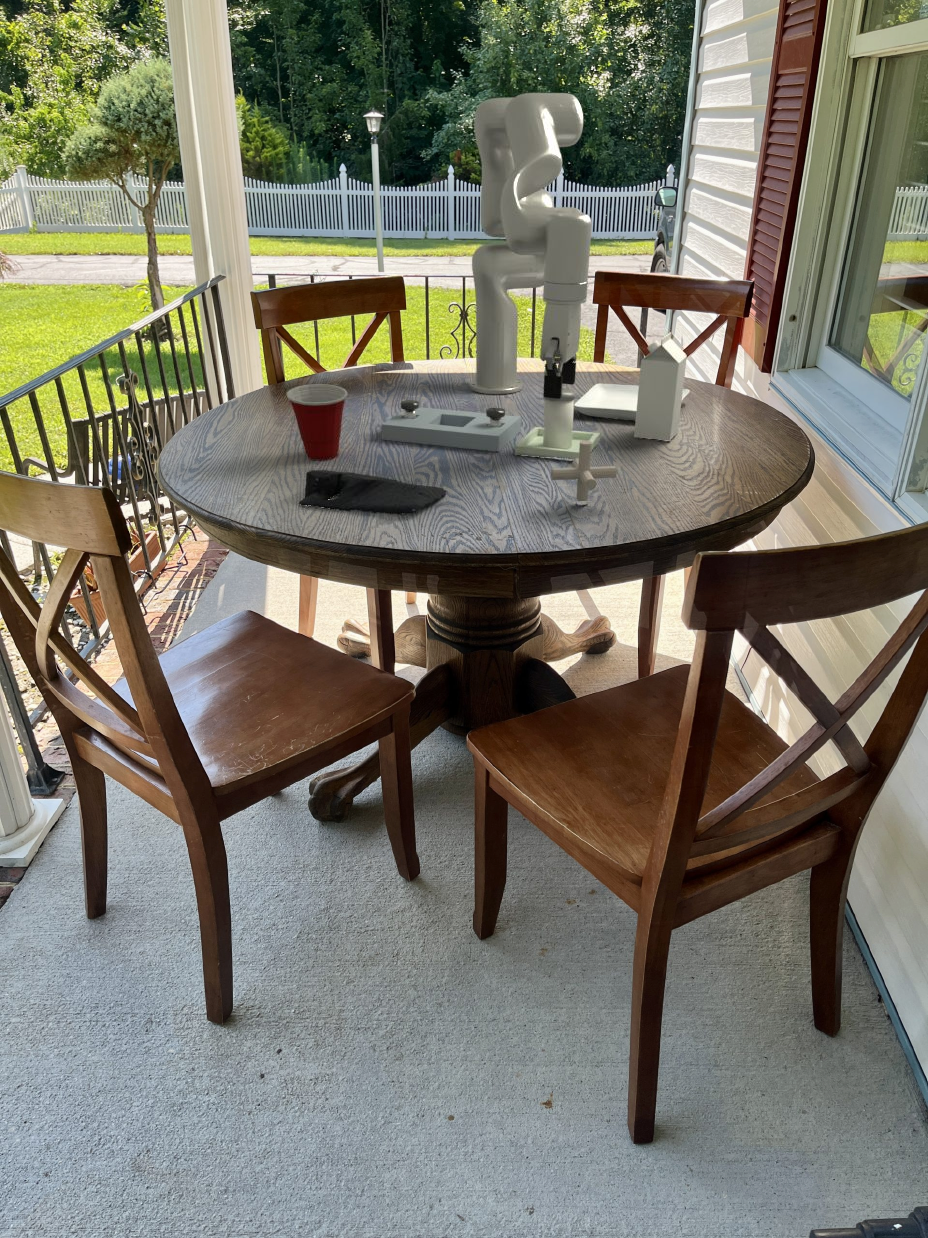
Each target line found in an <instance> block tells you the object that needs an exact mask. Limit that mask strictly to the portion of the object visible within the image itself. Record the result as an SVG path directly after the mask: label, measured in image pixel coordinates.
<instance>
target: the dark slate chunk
mask: <svg viewBox="0 0 928 1238" xmlns="http://www.w3.org/2000/svg"><path fill="white" fill-rule="evenodd" d="M446 492H447V490H446V489H444V488H443V487H439V486H433V485H423V484H416V483H408V482H402V481H399V480H397V479H392V478H388V477H382V476H381V477H380V476H375V475H370V474H363V473H356V472H350V471H348V472H347V471H345V472H344V471H336V470H327V469H316V470H315V469H313V470H312V469H311V470H309V471H307V472H306V474H305V488H304V497H303V498H302V499H303V500H302V499H301V500H299V503H298V504H299V505H300V504H301V505H307V506H308V505H311V506H310V507H315V506H318V507H317V508H321V507H324V508H323V509H326V508H330V509H329V510H332V509H333V510H337V509H339V510H338V511H345V510H346V512H349V511H350V512H352V511H356V510H357V512H358V511H359V512H364V513H369V512H370V513H373V514H375V513H379V514H387V515H402V513H403V515H411V514H415V513H417V512H419V511H420V510H422V509H424V508H426V507H427V506H429V505H431V504H433V503H437V502H438V501H439V500H441V499H443V498H444V497H446ZM337 494H339V495H337ZM335 495H336V496H337V497H335ZM333 496H334V497H335V498H334V497H333ZM330 497H331V499H330ZM328 499H330V500H328ZM301 505H300V506H301ZM351 510H352V511H351Z"/></svg>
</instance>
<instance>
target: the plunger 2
mask: <svg viewBox="0 0 928 1238" xmlns="http://www.w3.org/2000/svg"><path fill="white" fill-rule="evenodd" d="M485 411H486V412H485V413H486V416H487V417H490V426H491V427H501V417H504V416H505V415H506V409H505V408H502V407H490V408H487V409H486V410H485Z"/></svg>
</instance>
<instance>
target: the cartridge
mask: <svg viewBox="0 0 928 1238" xmlns="http://www.w3.org/2000/svg"><path fill="white" fill-rule="evenodd" d="M542 396H543V395H542ZM575 399H576V391H575V390H573V389H570V388H563V387H562V395H561V398H560V399H555V398H545V397H544V396H543V402H544V404H543V428H544V430H543V446H544V447H547V448H557V449H568V448H570V447H572V431H574V430H573V428H574V427H573V425H574V409H575V407H574V404H575V403H574V402H575Z"/></svg>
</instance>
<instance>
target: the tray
mask: <svg viewBox="0 0 928 1238" xmlns="http://www.w3.org/2000/svg"><path fill="white" fill-rule="evenodd" d="M543 430H544V427H542V426H541V427H540V426H539V427H538V426H534V427H533V428H532V429H531V430H530V431H529V432H528V433H527V434H526V435H525V436H524V437H522V438H521V440H520V441H519V442H517V444H515V445H514V456H516V454H517V455H528V456H539V457H557V458H566V459H567V458H568V459H577V458H579V447H580V442H581V441H590V442H592V446H591V451H592V449H593V448H594V447H595V446H596V444H597V443H598V442H599V441H600V440H601V433H600V432H591V431H582V430H581V431H580V430H573V431H572V447H570V448H568V449H557V448H547V447H544V446H543ZM596 447H597V446H596Z"/></svg>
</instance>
